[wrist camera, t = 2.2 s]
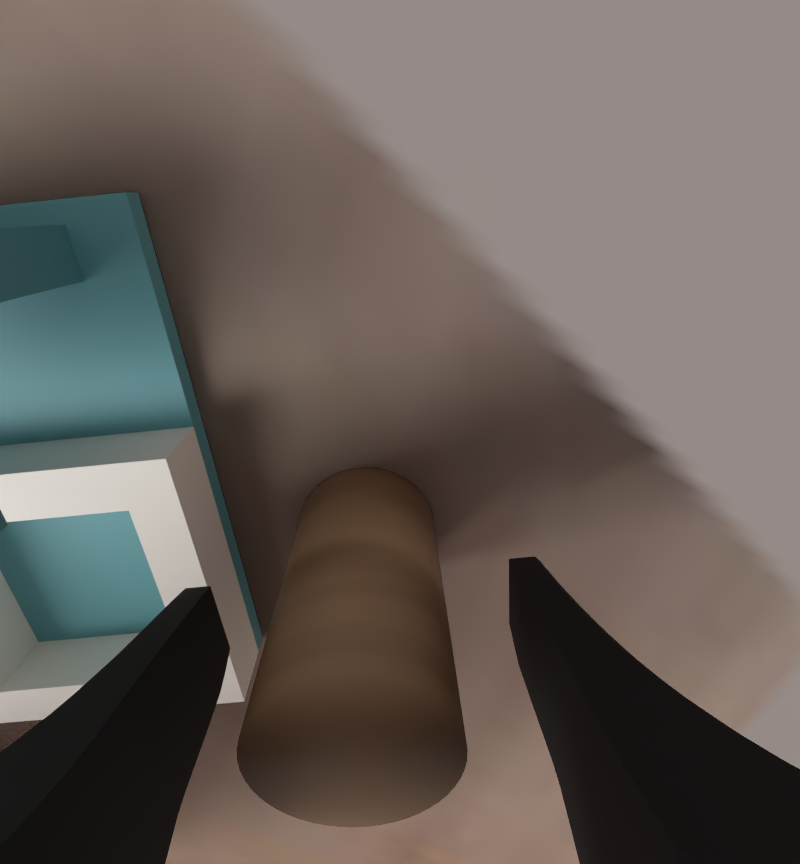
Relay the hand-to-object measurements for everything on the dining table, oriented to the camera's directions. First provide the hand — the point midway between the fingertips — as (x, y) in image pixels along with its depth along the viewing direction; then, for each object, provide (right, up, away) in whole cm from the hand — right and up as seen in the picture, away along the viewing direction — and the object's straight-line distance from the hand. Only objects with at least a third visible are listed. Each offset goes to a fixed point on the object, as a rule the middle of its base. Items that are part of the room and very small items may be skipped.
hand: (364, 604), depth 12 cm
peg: (0, +1, +3) cm, 3 cm away
